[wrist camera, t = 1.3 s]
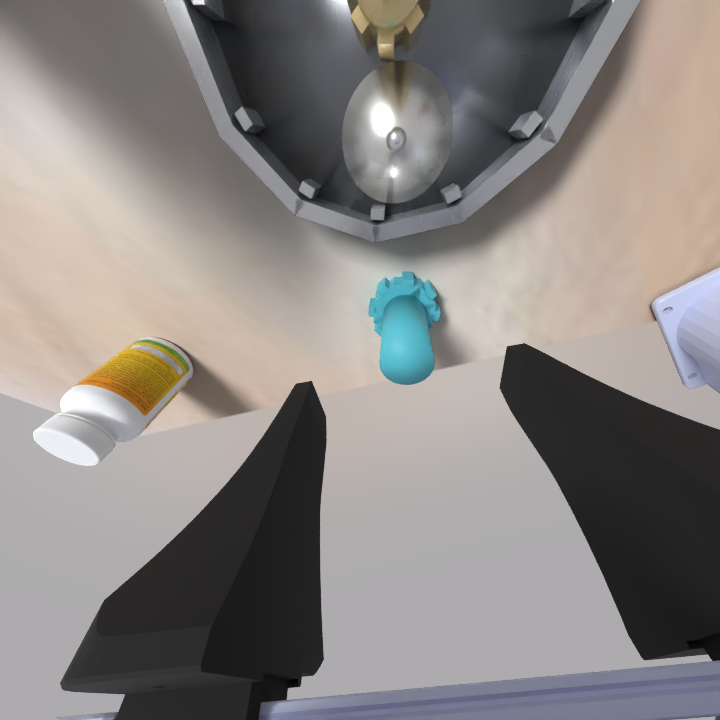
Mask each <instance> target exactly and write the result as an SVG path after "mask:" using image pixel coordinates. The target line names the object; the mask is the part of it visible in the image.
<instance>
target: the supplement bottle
mask: <svg viewBox="0 0 720 720" xmlns="http://www.w3.org/2000/svg"><path fill="white" fill-rule="evenodd" d="M192 375H193V366H192V363H191V361H190V360H189V358H188V357H187V355H186V354H185V353H184V352H183V351H182V350H181V349H179V348H178V347H177V346H175V345H174V344H172V343H170V342H168V341H166V340H163V339H159V338H155V337H146V338H142V339H139V340H137V341H136V342H134V343H133V344H132V345H130V346H129V347H127V348H126V349H125V350H123V351H122V352H121V353H119V354H118V355H117V356H115V357H114V358H113V359H111V360H110V361H108V362H107V363H106V364H104V365H103V366H101V367H100V368H99V369H97V370H96V371H95V372H93V373H92V374H91V375H89V376H88V377H86V378H85V379H84V380H82V381H81V382H79V383H78V384H77V385H75V386H74V387H73V388H71V389H70V390H69V391H67V392H66V393H65V394H64V396H63V397H62V399H61V403H60V407H61V411H62V413H59V414H56V415H54V416H53V417H52V418H50V419H49V420H47V421H46V422H45V423H44V424H42V425H41V426H40V427H39V428H37V429H36V430H35V431H34V433H33V437H34V439H35V441H36V442H37V443H38V444H39V445H40V446H41V447H43V448H44V449H45V450H46V451H48V452H49V453H51V454H53V455H55V456H57V457H59V458H61V459H63V460H66V461H68V462H71V463H74V464H78V465H84V466H94V465H97V464H99V463H100V462H101V461H102V460H103V459H104V458H105V457H106V456H107V455H108V454H109V453H110V452H111V451H112V450H113V448H114V447H115V444H116V442H125V441H129V440H132V439H134V438H136V437H137V436H139V435H140V434H141V433H142V432H143V431H144V430H145V429H146V428H147V427H148V425H149V424H150V423H151V422H152V421H153V420H154V419H155V418H156V417H157V416H158V414H159V413H160V412H161V411H162V410H163V409H164V408H165V407H166V406H167V405H168V404H169V402H170V401H171V400H172V399H173V398H174V397H175V396H176V395H177V394H178V393H179V392H180V390H181V389H182V388H183V387H184V386H185V385H186V384H187V383H188V381H189V380H190V379H191V377H192Z"/></svg>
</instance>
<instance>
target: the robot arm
mask: <svg viewBox="0 0 720 720" xmlns="http://www.w3.org/2000/svg"><path fill="white" fill-rule="evenodd" d="M665 308H667V309H666V310H664V309H665ZM652 310H653V312H654V314H655V317H656V319H657V322H658V324H659V327H660V329H661V331H662V334H663V336H664V339H665V341H666V344H667V346H668V349H669V351H670V354H671V356H672V358H673V361H674V363H675V366H676V368H677V371H678V373H679V376H680V378H681V380H682V383H683V384H684V385H685V386H686V387H687V388H697V387H699V386H702V385H705V384H708V385H709V386H710V387H712V388H713V389H715V390H716V391H717V392H719V393H720V267H719V268H717V269H715V270H713V271H711V272H709V273H707V274H705V275H703V276H701V277H699V278H697V279H695V280H693V281H691V282H689V283H687V284H685V285H683V286H681V287H679V288H677V289H675V290H673V291H671V292H669V293H667V294H665V295H663V296H661V297H659V298H657V299H656V300H655V301H654V302H653V303H652ZM663 310H664V311H663ZM500 389H501V392H502V394H503V396H504V398H505V400H506V402H507V404H508V406H509V408H510V410H511V412H512V413H513V415H514V417H515V418H516V420H517V421H518V423H519V424H520V425H521V427H522V429H523V430H524V432H525V433H526V435H527V436H528V438H529V439H530V441H531V442H532V444H533V445H534V447H535V448H536V450H537V451H538V453H539V454H540V456H541V457H542V459H543V460H544V462H545V463H546V464H547V466H548V468H549V470H550V471H551V473H552V474H553V476H554V478H555V479H556V481H557V483H558V485H559V487H560V489H561V491H562V493H563V494H564V496H565V498H566V500H567V502H568V504H569V506H570V507H571V509H572V511H573V514H574V515H575V517H576V520H577V522H578V523H579V526H580V528H581V529H582V532H583V533H584V536H585V537H586V540H587V542H588V544H589V546H590V548H591V550H592V552H593V554H594V557H595V558H596V561H597V563H598V565H599V567H600V570H601V571H602V574H603V576H604V578H605V581H606V583H607V585H608V588H609V590H610V592H611V594H612V597H613V599H614V601H615V604H616V606H617V608H618V611H619V613H620V615H621V618H622V620H623V623H624V625H625V628H626V630H627V633H628V635H629V637H630V639H631V640H632V642H633V644H634V645H635V647H636V649H637V650H638V652H639V654H640V656H641V657H642V658H643V659H644V660H653V659H663V658H674V657H685V656H695V655H706V654H708V655H709V656H710V658H711V659H712V661H711V662H700V663H689V664H678V665H668V666H657V667H646V668H634V669H623V670H612V671H602V672H590V673H581V674H580V673H579V674H568V675H557V676H546V677H535V678H524V679H514V680H502V681H492V682H482V683H469V684H458V685H447V686H436V687H426V688H414V689H404V690H393V691H382V692H371V693H361V694H349V695H338V696H327V697H316V698H306V699H295V700H287V691H288V688H292V687H300V685H301V677H303V676H313V675H314V674H315V673H316V672H317V670H318V669H319V667H320V666H321V664H322V662H323V660H324V657H323V637H322V615H321V585H320V584H321V583H320V504H321V492H322V481H323V472H324V462H325V451H326V416H325V413H324V411H323V408H322V406H321V403H320V401H319V398H318V396H317V393H316V391H315V388H314V386H313V383H312V381H309V382H303V383H298V384H296V385H295V386H294V388H293V389H292V391H291V393H290V394H289V396H288V398H287V399H286V401H285V403H284V404H283V406H282V408H281V409H280V411H279V412H278V414H277V416H276V417H275V419H274V420H273V422H272V423H271V425H270V426H269V428H268V430H267V431H266V433H265V434H264V436H263V437H262V439H261V440H260V441H259V443H258V444H257V445H256V447H255V448H254V450H253V451H252V452H251V454H250V455H249V456H248V458H247V459H246V461H245V462H244V463H243V464H242V466H241V467H240V468H239V469H238V471H237V472H236V473H235V474H234V475H233V477H232V478H231V479H230V480H229V482H228V483H227V484H226V485H225V486H224V487H223V488H222V489H221V490H220V492H219V493H218V494H217V495H216V496H215V497H214V498H213V499H212V500H211V501H210V502H209V504H208V505H207V506H206V507H205V508H204V509H203V510H202V511H201V512H200V513H199V515H197V516H196V517H195V518H194V519H193V520H192V521H191V522H190V523H189V524H188V525H187V526H186V527H185V528H184V529H183V530H182V531H181V532H180V533H179V534H178V535H177V536H176V537H175V538H174V539H173V540H172V541H171V542H170V543H169V544H167V545H166V546H165V547H164V549H162V550H161V551H160V552H159V553H158V554H157V555H156V556H155V557H153V559H151V560H150V561H149V562H148V563H147V564H146V565H145V566H143V567H142V568H141V569H140V570H139V571H138V572H136V573H135V574H134V575H133V576H132V577H131V578H130V579H128V580H127V581H126V582H125V583H124V584H123V585H121V586H120V587H119V588H118V589H117V590H116V591H115V592H113V593H112V594H111V595H110V596H109V597H108V598H106V599H105V600H104V602H103V603H102V605H101V607H100V609H99V611H98V613H97V615H96V617H95V618H94V620H93V622H92V624H91V626H90V628H89V630H88V632H87V634H86V635H85V637H84V639H83V641H82V643H81V645H80V647H79V648H78V650H77V652H76V654H75V656H74V658H73V660H72V662H71V664H70V666H69V667H68V669H67V671H66V673H65V675H64V677H63V679H62V681H61V682H60V684H61V687H62V689H63V690H65V691H71V692H87V693H109V694H110V693H111V694H125V697H124V699H123V702H122V704H121V707H120V709H119V712H116V713H115V712H114V713H99V714H87V715H77V716H66V717H57V718H56V719H55V720H672V719H686V718H699V717H711V716H716V718H715V720H720V430H719V429H715V428H713V427H710V426H707V425H704V424H701V423H698V422H695V421H692V420H690V419H687V418H685V417H682V416H679V415H677V414H674V413H672V412H669V411H667V410H664V409H661V408H659V407H656V406H654V405H651V404H649V403H646V402H644V401H641V400H639V399H637V398H635V397H632V396H630V395H628V394H625V393H623V392H621V391H619V390H617V389H615V388H612V387H610V386H608V385H606V384H604V383H602V382H600V381H598V380H596V379H594V378H591V377H589V376H587V375H585V374H583V373H581V372H580V371H577V370H576V369H574V368H572V367H570V366H568V365H566V364H564V363H562V362H560V361H558V360H556V359H554V358H552V357H551V356H549V355H547V354H545V353H543V352H541V351H539V350H537V349H535V348H533V347H531V346H529V345H527V344H525V343H524V344H518V345H513V346H507V349H506V355H505V360H504V366H503V372H502V377H501V383H500Z"/></svg>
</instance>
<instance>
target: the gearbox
mask: <svg viewBox="0 0 720 720" xmlns="http://www.w3.org/2000/svg"><path fill="white" fill-rule="evenodd" d="M162 1H163V4H164V6H165V8H166V11H167V13H168V15H169V18H170V20H171V23H172V25H173V27H174V30H175V32H176V34H177V37H178V39H179V42H180V44H181V46H182V49H183V51H184V53H185V56H186V58H187V60H188V63H189V65H190V68H191V70H192V72H193V75H194V77H195V79H196V82H197V84H198V86H199V89H200V91H201V94H202V96H203V98H204V101H205V103H206V105H207V108H208V110H209V113H210V115H211V117H212V120H213V122H214V124H215V127H216V129H217V131H218V134H219V136H220V137H221V138H222V140H223V141H224V142H225V143H226V144H227V145H228V146H229V147H230V148H231V149H232V150H233V151H234V152H235V153H236V154H237V155H238V156H239V157H240V158H241V159H242V161H243V162H244V163H245V164H246V165H247V166H248V167H249V168H250V169H251V170H252V171H253V172H254V173H255V174H256V175H257V176H258V177H259V178H260V179H261V180H262V182H263V183H264V184H265V185H266V186H267V187H268V188H269V189H270V190H271V191H272V192H273V193H274V194H275V195H276V196H277V197H278V198H279V199H280V200H281V202H282V203H283V204H284V205H285V206H286V207H287V208H288V209H289V210H290V211H291V212H292V213H293V214H294V215H295V216H298V217H301V218H304V219H307V220H310V221H313V222H316V223H319V224H322V225H325V226H327V227H330V228H333V229H336V230H339V231H342V232H345V233H348V234H351V235H354V236H357V237H360V238H363V239H366V240H369V241H372V242H375V243H377V242H381V241H385V240H390V239H394V238H398V237H403V236H407V235H411V234H415V233H420V232H424V231H428V230H433V229H437V228H441V227H446V226H450V225H454V224H459V223H463V222H464V221H465V220H466V219H467V218H469V217H470V216H471V215H472V214H473V213H475V212H476V211H477V210H478V209H479V208H481V207H482V206H483V205H484V204H485V203H487V202H488V201H489V200H490V199H491V198H493V197H494V196H495V195H496V194H497V193H499V192H500V191H501V190H502V189H503V188H505V187H506V186H507V185H508V184H509V183H511V182H512V181H513V180H514V179H515V178H517V177H518V176H519V175H520V174H521V173H523V172H524V171H525V170H526V169H527V168H529V167H530V166H531V165H532V164H533V163H535V162H536V161H537V160H538V159H539V158H541V157H542V156H543V155H544V154H545V153H547V152H548V151H549V150H550V149H551V148H553V147H554V146H555V145H557V143H558V141H559V139H560V138H561V136H562V134H563V133H564V131H565V129H566V127H567V126H568V124H569V122H570V120H571V119H572V117H573V115H574V114H575V112H576V110H577V108H578V107H579V105H580V103H581V102H582V100H583V98H584V96H585V95H586V93H587V91H588V89H589V88H590V86H591V84H592V83H593V81H594V79H595V77H596V76H597V74H598V72H599V71H600V69H601V67H602V65H603V64H604V62H605V60H606V59H607V57H608V55H609V53H610V52H611V50H612V48H613V46H614V45H615V43H616V41H617V40H618V38H619V36H620V34H621V33H622V31H623V29H624V28H625V26H626V24H627V22H628V21H629V19H630V17H631V16H632V14H633V12H634V10H635V9H636V7H637V5H638V3H639V2H640V0H162Z"/></svg>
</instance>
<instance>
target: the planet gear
mask: <svg viewBox="0 0 720 720" xmlns="http://www.w3.org/2000/svg"><path fill="white" fill-rule="evenodd" d="M436 296H437V294H436V291H435V287H434V286H433V285H432V284H431V282H430V281H429V280H428V281H426V282H425V283H424V284H423V282H422V281H421V280H420V279H418V278H414V276H413V272H402V278H400V277H394V278H393V279H392V280H391V281H390V282H389V281H388V280H387V279H386V277H385V278H384V279H383V280H382V281H381V282H380V283H378V286H377V292H376V298H375V299H372V298H371V299H370V305H369V316H372V317H374V323H375V329H374V331H375V332H377V333H378V334H379V335H380V336H382V339H381V352H380V369H381V371H382V373H383V375H384V376H385V377H386V378H387V379H389V380H390V381H392V382H394V383H398V384H403V385H410V384H415V383H419V382H421V381H423V380H425V379H426V378H427V377H428V376H429V375H430V374H431V373H432V371H433V369H434V365H435V361H434V356H433V350H432V345H431V340H430V334H429V328H430V327H432V322H433V321H439V318H440V313H441V311H440V307H439V304H438V303H436V302H435V297H436Z"/></svg>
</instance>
